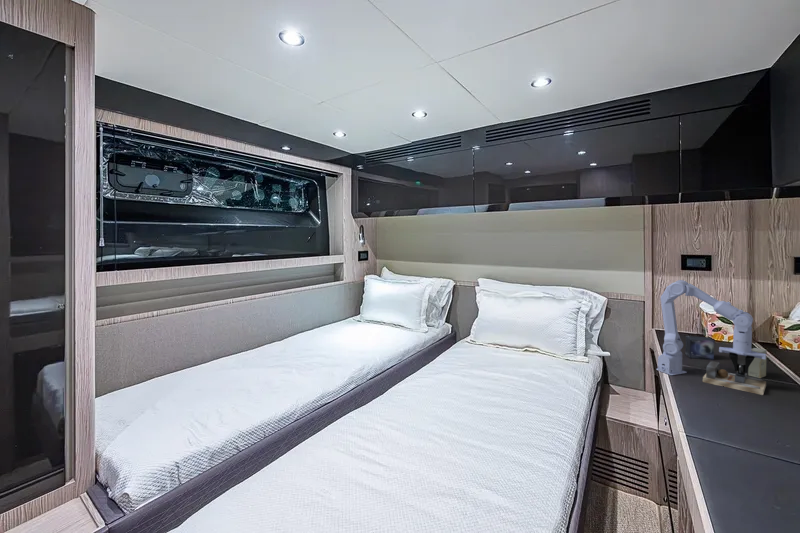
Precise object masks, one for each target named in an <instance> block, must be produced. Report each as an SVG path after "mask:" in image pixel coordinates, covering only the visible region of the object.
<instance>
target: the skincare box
mask: <svg viewBox="0 0 800 533" xmlns="http://www.w3.org/2000/svg"><path fill="white" fill-rule="evenodd" d="M751 351H754V352H758V353H763V354H766V358H767V355H768V354H767V353H768V352H767V351H768V350H767V349H764V348H760V347H759V348H757V347H753V348H751ZM747 376H748V377H752V378H758V379H762V378H765V377H766V376H767V359H766V360H765V359H761V358H754V360H753V361H752V363H751V364H750V366H749V368H748V372H747Z"/></svg>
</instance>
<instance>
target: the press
mask: <svg viewBox="0 0 800 533" xmlns="http://www.w3.org/2000/svg"><path fill="white" fill-rule="evenodd" d="M705 369H706V370H705V372H706V373H705V374H704V375H703V376H702V383H705V384H710V385H714V386H721V387H723V386H724V388H727V389H728V388H729V389H733V390H737V391H743V392H748V393H752V394H756V395H759V396H760V395H761V396H764V393H765V390H766V387H767V381H764V379H762V378H756V377H752V376H747V380H746V382H745V384H744V383H739V382H735V374H736V373H731V372H728V371H727V370H726V369H722V368H721V369H720V362H719V361H714V360H710V361H709V363H708V364H707V365H706V368H705Z"/></svg>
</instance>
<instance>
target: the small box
mask: <svg viewBox="0 0 800 533" xmlns="http://www.w3.org/2000/svg"><path fill="white" fill-rule="evenodd" d="M715 342H716V341H715V339H713V338H711V337H708V336H695V335H694V336H692V335H690V336H689V335H685V351H684V352H685V353H684V354H685V356H687V358H689V359H695V360H696V359H697V360H708V361H709V360H710V361H714V360H715Z"/></svg>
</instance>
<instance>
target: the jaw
mask: <svg viewBox="0 0 800 533" xmlns="http://www.w3.org/2000/svg"><path fill="white" fill-rule="evenodd" d="M734 374H735V382H739V383H744V384H745V382H746V380H747V377H748V372H747V373H745V364H744V363H738V368H737V371H736V373H734Z"/></svg>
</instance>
